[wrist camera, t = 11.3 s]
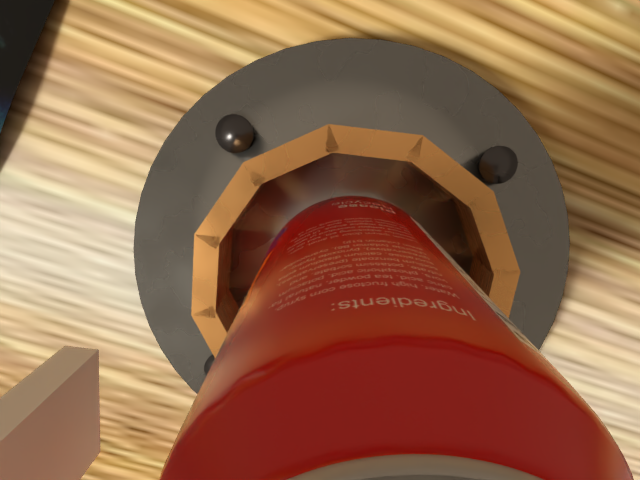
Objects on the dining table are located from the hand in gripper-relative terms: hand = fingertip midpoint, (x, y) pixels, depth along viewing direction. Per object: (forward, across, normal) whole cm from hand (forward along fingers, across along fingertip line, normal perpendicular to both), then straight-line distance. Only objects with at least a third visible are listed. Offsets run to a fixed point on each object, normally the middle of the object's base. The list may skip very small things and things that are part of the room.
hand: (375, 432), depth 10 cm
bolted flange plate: (+11, 0, 0) cm, 11 cm away
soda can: (+10, 0, 0) cm, 10 cm away
